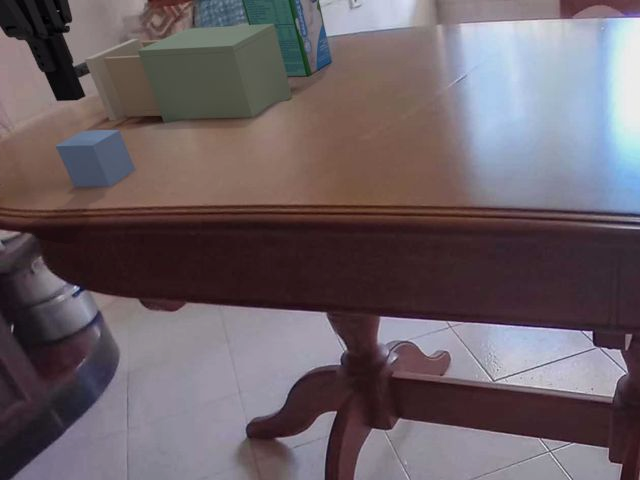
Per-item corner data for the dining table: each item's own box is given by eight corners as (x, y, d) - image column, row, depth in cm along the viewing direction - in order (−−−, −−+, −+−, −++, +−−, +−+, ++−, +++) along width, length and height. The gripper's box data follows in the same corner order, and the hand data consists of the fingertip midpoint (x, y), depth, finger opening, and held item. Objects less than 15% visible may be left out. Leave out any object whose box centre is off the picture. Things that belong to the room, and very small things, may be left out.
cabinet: (165, 126, 102) (137, 50, 96) (209, 99, 112) (186, 28, 106) (255, 124, 99) (232, 45, 93) (292, 96, 109) (274, 23, 103)
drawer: (81, 121, 106) (54, 60, 100) (127, 97, 114) (104, 40, 109) (189, 118, 102) (167, 54, 96) (228, 94, 110) (209, 34, 105)
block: (113, 194, 82) (92, 145, 79) (77, 194, 83) (54, 145, 80) (139, 177, 86) (119, 129, 83) (104, 177, 87) (83, 130, 84)
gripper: (-64, -162, 59) (60, 116, 73) (43, -165, 69) (134, 80, 83) (-134, -153, 61) (1, 118, 75) (-20, -156, 71) (80, 83, 85)
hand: (71, 98), depth 79 cm, fingers closed
